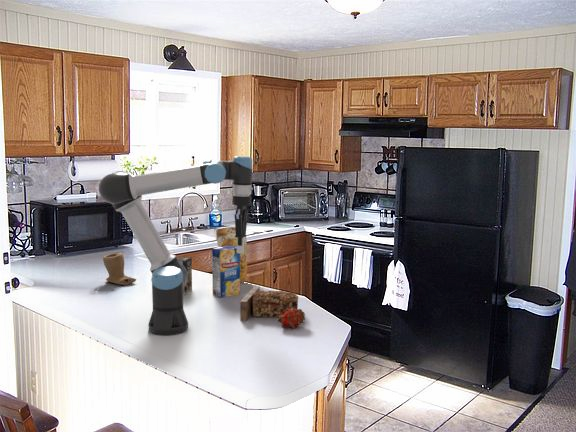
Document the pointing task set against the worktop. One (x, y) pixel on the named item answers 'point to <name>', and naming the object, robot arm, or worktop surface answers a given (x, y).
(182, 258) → the coffee box
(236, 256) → the beverage box
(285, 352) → the worktop surface
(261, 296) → the bread
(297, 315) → the dragon fruit
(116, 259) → the tan boot figurine
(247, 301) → the walnut board
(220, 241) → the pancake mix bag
